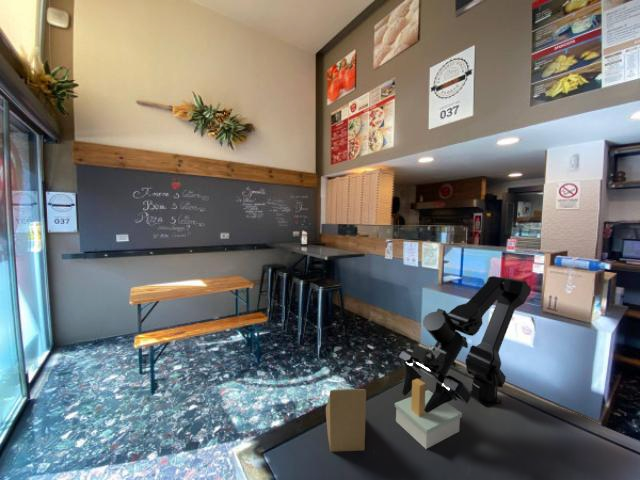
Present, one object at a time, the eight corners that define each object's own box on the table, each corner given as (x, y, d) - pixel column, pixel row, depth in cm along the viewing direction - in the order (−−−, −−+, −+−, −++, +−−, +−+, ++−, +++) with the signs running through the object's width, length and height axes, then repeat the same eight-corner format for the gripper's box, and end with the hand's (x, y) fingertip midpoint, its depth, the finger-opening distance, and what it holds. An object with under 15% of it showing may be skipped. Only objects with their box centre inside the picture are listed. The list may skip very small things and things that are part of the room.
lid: (427, 396, 78) (428, 363, 78) (461, 420, 69) (463, 382, 68) (394, 410, 73) (395, 374, 72) (426, 438, 63) (428, 397, 63)
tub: (427, 407, 78) (428, 394, 78) (459, 431, 69) (459, 416, 69) (395, 421, 73) (396, 407, 72) (426, 449, 64) (426, 432, 64)
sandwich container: (354, 406, 79) (355, 356, 78) (365, 451, 63) (367, 389, 62) (324, 407, 78) (325, 357, 77) (329, 452, 63) (329, 390, 62)
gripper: (404, 322, 78) (373, 368, 74) (465, 349, 61) (429, 411, 57) (423, 343, 82) (394, 388, 78) (484, 374, 65) (452, 433, 61)
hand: (414, 402), depth 68 cm, fingers open, 7 cm apart
